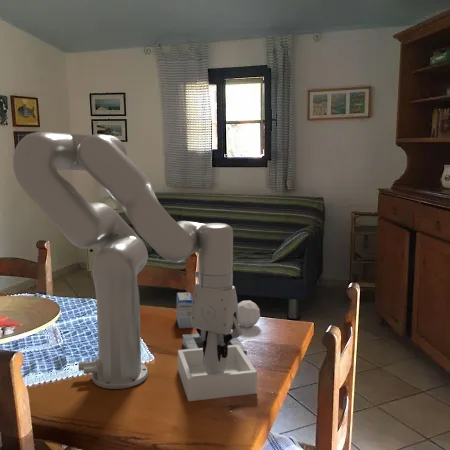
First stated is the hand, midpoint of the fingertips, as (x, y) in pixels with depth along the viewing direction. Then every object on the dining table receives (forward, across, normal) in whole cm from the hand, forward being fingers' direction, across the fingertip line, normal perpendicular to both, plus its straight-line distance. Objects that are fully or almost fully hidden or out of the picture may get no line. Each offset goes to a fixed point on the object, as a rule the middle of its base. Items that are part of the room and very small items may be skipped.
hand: (215, 357), depth 110 cm
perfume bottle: (+6, -11, +33) cm, 35 cm away
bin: (+6, 0, 0) cm, 6 cm away
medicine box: (+6, -28, +26) cm, 38 cm away
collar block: (+6, -9, +14) cm, 17 cm away
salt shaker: (+4, 0, 0) cm, 4 cm away
